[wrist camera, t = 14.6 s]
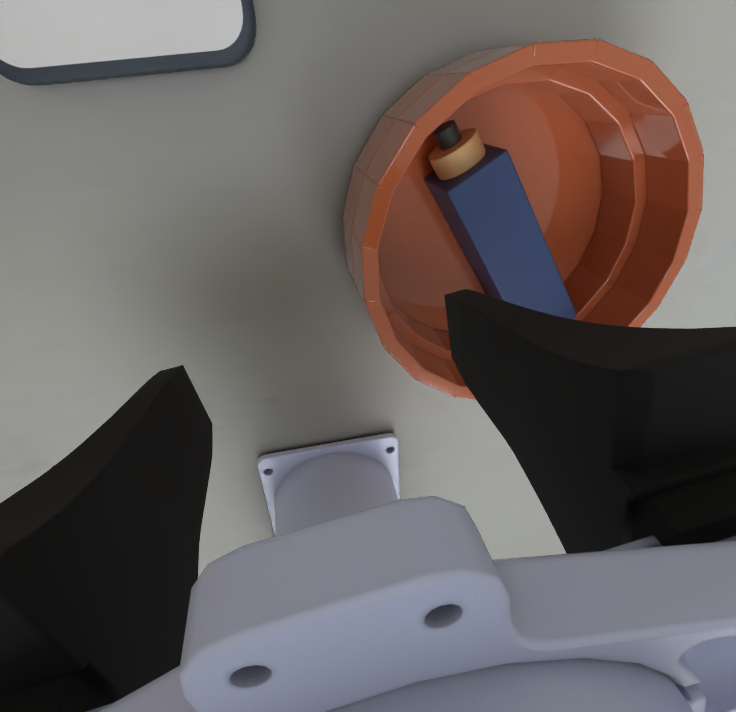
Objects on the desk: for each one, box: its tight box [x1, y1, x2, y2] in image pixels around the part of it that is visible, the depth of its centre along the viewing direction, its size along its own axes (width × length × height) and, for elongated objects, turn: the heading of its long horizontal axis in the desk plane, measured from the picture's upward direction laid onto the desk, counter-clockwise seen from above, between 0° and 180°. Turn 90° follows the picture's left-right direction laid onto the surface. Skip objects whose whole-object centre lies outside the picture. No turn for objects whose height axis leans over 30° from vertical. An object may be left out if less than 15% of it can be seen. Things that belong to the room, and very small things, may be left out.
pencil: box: [424, 120, 577, 319], centre depth 20 cm, size 10×3×3 cm, turn 33°
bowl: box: [343, 39, 704, 399], centre depth 19 cm, size 13×13×5 cm
